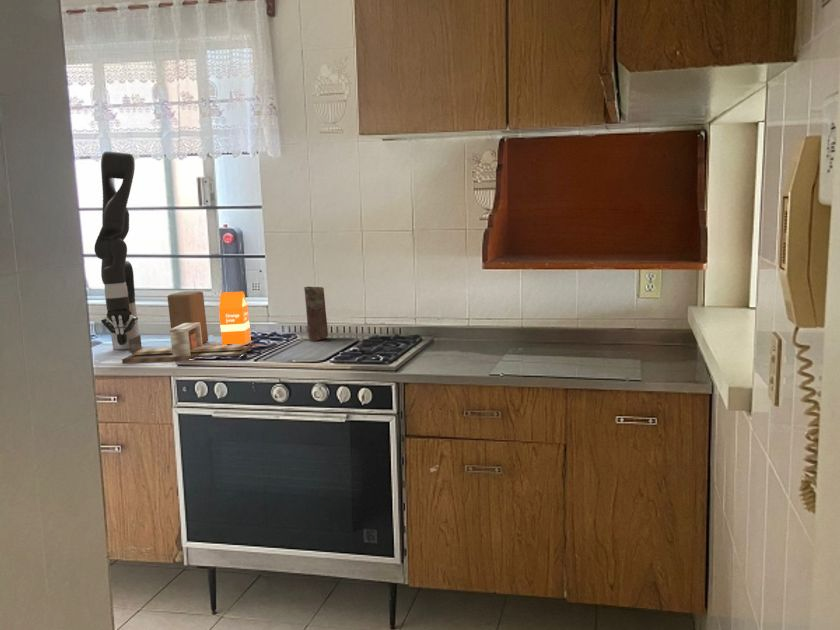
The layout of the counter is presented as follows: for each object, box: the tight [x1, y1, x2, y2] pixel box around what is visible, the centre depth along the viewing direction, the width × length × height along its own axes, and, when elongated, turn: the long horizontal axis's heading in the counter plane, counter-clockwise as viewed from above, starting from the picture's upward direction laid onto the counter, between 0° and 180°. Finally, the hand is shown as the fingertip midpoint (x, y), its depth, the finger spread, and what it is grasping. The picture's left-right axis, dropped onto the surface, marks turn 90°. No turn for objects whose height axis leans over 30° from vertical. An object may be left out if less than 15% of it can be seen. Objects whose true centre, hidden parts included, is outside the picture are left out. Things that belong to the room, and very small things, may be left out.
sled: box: [128, 333, 244, 355], centre depth 280 cm, size 39×7×6 cm, turn 85°
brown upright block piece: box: [303, 286, 329, 342], centre depth 296 cm, size 8×7×20 cm
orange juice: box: [218, 291, 252, 345], centre depth 295 cm, size 8×9×20 cm
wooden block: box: [167, 290, 209, 345], centre depth 303 cm, size 10×10×20 cm
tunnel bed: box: [121, 322, 253, 365], centre depth 280 cm, size 42×14×11 cm, turn 85°
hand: (122, 344), depth 282 cm, fingers closed
